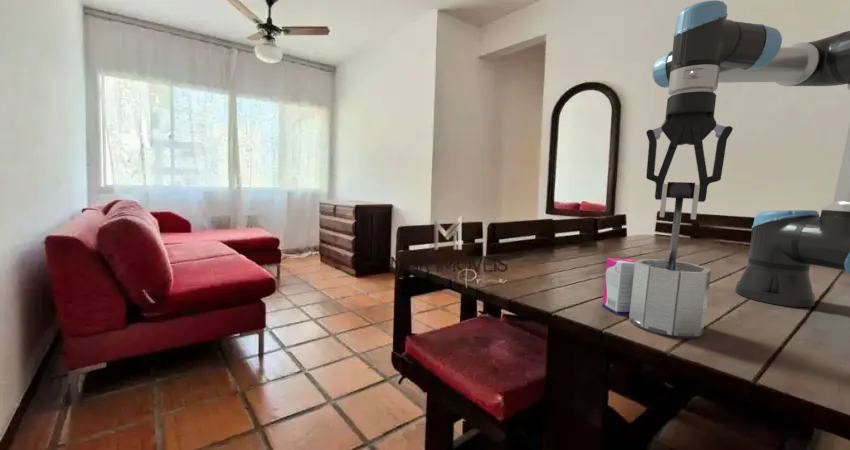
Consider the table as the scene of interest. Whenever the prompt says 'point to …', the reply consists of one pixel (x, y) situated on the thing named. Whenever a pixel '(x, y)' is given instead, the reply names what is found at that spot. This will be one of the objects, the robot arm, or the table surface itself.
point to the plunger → (677, 214)
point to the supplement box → (618, 285)
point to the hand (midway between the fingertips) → (677, 217)
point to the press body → (669, 298)
